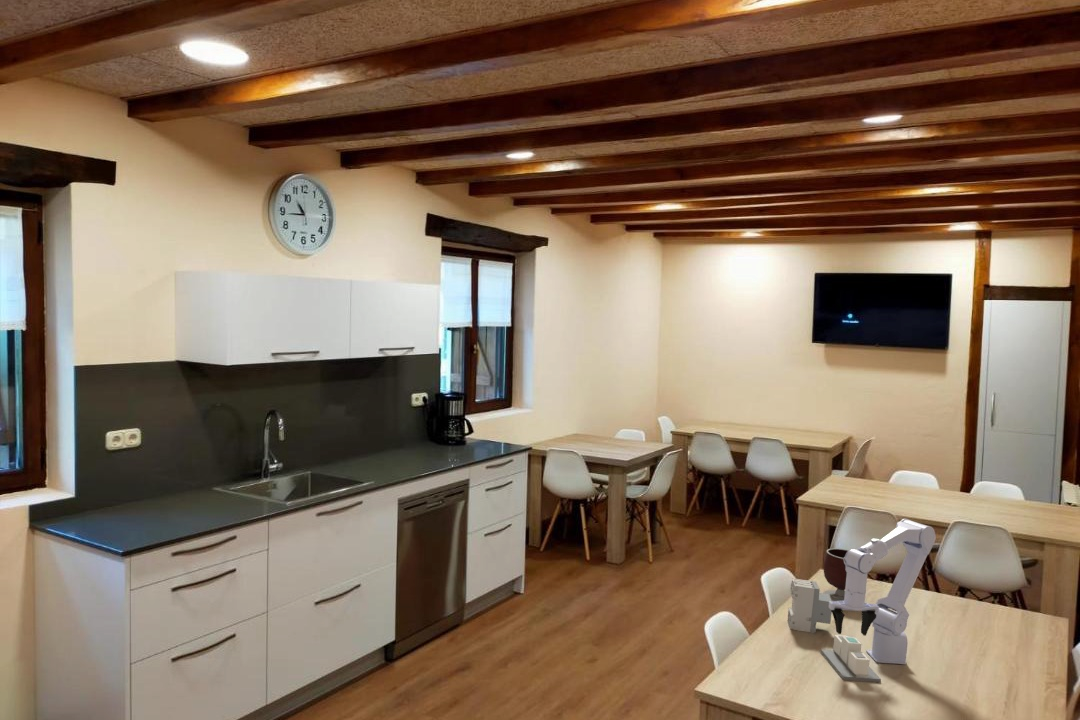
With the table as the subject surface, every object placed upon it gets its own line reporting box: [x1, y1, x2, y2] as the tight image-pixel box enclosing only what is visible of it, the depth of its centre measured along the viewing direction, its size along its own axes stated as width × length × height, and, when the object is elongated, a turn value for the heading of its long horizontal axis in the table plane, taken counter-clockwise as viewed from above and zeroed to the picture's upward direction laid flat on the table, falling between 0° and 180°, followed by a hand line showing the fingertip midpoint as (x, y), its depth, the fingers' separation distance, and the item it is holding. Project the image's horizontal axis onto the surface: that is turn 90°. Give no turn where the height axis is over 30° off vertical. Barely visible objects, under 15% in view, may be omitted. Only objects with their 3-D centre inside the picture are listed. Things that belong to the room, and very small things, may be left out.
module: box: [840, 636, 862, 664], centre depth 235 cm, size 4×4×7 cm
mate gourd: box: [822, 548, 850, 601], centre depth 293 cm, size 16×14×20 cm
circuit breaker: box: [787, 578, 832, 634], centre depth 262 cm, size 8×14×15 cm, turn 78°
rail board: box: [820, 634, 882, 683], centre depth 235 cm, size 11×18×6 cm, turn 0°
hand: (851, 633), depth 236 cm, fingers open, 7 cm apart
